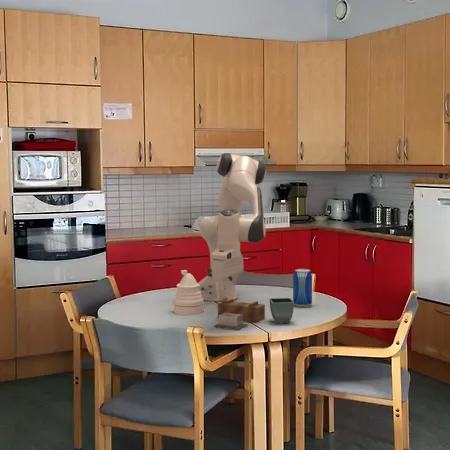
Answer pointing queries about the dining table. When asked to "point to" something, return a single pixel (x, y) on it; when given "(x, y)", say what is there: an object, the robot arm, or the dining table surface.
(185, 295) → the honey pot
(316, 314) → the dining table surface
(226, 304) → the body
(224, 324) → the lever cap
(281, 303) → the flower pot
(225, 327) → the mat
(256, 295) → the dining table surface
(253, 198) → the robot arm
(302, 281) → the beer can
